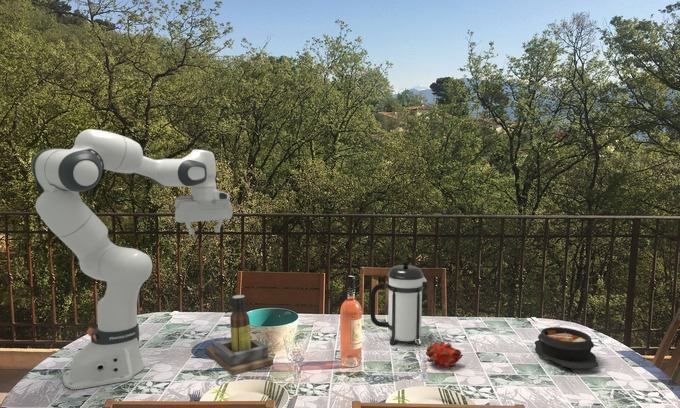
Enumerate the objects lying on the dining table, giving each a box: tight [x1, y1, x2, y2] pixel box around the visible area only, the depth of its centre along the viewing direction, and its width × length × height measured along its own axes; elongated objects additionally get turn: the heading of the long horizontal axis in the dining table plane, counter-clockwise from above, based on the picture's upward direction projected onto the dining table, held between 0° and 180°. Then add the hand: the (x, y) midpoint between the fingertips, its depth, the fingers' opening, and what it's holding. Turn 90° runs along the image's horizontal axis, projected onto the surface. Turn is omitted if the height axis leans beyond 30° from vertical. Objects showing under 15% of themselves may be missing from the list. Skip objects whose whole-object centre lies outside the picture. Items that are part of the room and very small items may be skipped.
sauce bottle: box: [229, 294, 251, 353], centre depth 159 cm, size 7×6×20 cm
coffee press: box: [369, 259, 428, 346], centre depth 177 cm, size 17×16×30 cm
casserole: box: [534, 326, 600, 370], centre depth 162 cm, size 25×19×8 cm
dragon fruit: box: [425, 341, 464, 369], centre depth 156 cm, size 8×8×12 cm
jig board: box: [205, 337, 274, 376], centre depth 162 cm, size 14×22×5 cm, turn 37°
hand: (204, 233), depth 175 cm, fingers open, 8 cm apart
